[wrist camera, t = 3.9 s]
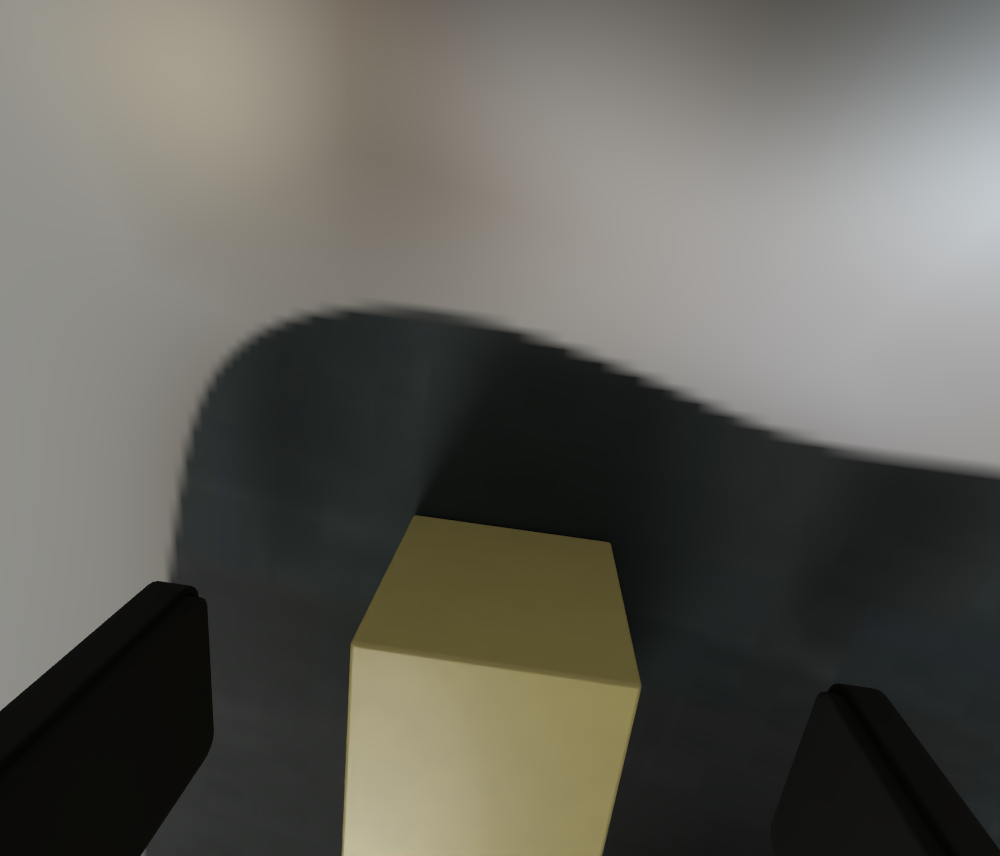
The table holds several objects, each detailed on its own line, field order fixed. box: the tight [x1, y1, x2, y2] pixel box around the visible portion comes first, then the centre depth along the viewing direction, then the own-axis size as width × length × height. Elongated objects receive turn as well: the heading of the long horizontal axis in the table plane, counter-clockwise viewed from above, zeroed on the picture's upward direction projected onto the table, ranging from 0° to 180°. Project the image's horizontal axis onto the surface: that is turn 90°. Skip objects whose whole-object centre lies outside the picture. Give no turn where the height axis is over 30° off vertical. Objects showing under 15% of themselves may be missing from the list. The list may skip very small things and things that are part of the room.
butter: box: [342, 515, 642, 856], centre depth 9 cm, size 4×4×4 cm
